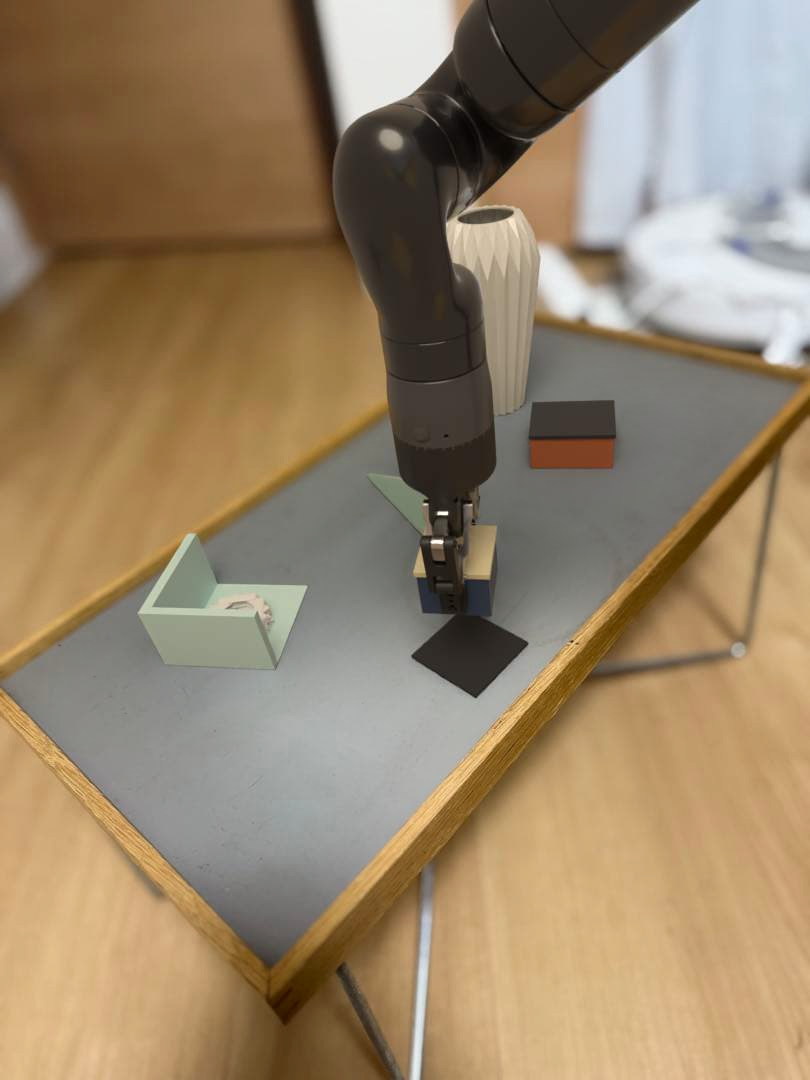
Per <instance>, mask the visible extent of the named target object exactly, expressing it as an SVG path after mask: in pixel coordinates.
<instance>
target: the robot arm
mask: <svg viewBox="0 0 810 1080" xmlns="http://www.w3.org/2000/svg"><path fill="white" fill-rule="evenodd" d="M700 1H701V0H472V1H471V2H470V4H469V5H468V7H467V8H466V9H465V12H464V13H463V14H462V16H461V18H460V19H459V22H458V23H457V26H456V28H455V32H454V36H453V42H452V43H453V44H452V50H451V51H450V52H449V54H448V55H447V56H446V57H445V58H444V60H443V61H442V62H441V64H440V65H439V66H438V67H437V68H436V69H435V70H434V72H433V73H432V74H430V76H429V77H428V78H427V79H426V80H424V82H423V83H422V84H420V85H419V87H418V88H416V89H415V90H414V91H412V93H411V94H409V95H407V96H405V97H402V98H400V99H398V100H396V101H394V102H391V103H389V104H387V105H384V106H381V107H378V108H376V109H373V110H371V111H369V112H367V113H365V114H362V115H361V116H359V117H358V118H357V119H355V120H354V121H353V122H352V123H351V124H350V125H349V126H348V127H347V128H346V129H345V130H344V132H343V133H342V136H341V138H340V139H339V141H338V143H337V146H336V148H335V153H334V156H333V157H334V158H333V164H332V176H331V177H332V179H331V187H332V198H333V205H334V211H335V213H336V217H337V221H338V224H339V226H340V229H341V233H342V235H343V237H344V239H345V242H346V244H347V247H348V249H349V252H350V254H351V257H352V259H353V261H354V264H355V265H356V268H357V270H358V273H359V275H360V278H361V279H362V282H363V286H364V288H365V289H366V291H367V293H368V295H369V297H370V299H371V301H372V304H373V306H374V308H375V310H376V313H377V321H378V330H379V336H380V342H381V347H382V354H383V359H384V366H385V373H386V374H385V375H386V379H385V380H386V382H385V383H386V384H385V385H386V387H385V388H386V400H387V406H388V412H389V413H388V414H389V418H390V425H391V430H392V436H393V437H392V438H393V443H394V448H395V456H396V461H397V467H398V473H399V475H400V476H399V477H401V478H402V480H403V481H404V482H405V483H406V484H407V485H408V486H409V487H410V488H412V489H414V490H416V491H418V492H420V493H421V494H423V495H424V496H426V497H427V498H424V499H423V519H424V520H425V521H426V535H422V534H421V537H420V540H419V548H420V547H421V552H422V557H423V562H424V567H425V572H426V577H427V582H428V589H429V592H430V593H435V594H439V597H440V604H441V610H442V612H443V613H445V614H444V615H450V614H459V615H464V614H466V613H467V611H468V597H467V587H466V580H467V574H466V557H467V556H468V555H469V554H470V552H471V550H472V525H476V524H477V521H478V520H479V518H478V513H480V512H479V511H480V501H481V495H480V492H479V488H480V486H481V485H484V484H485V483H486V482H487V481H488V480H489V479H490V478H491V477H492V475H493V474H494V472H495V470H496V467H497V462H498V461H497V444H496V428H495V416H494V409H493V392H492V382H491V376H490V371H489V367H488V362H487V354H486V337H485V321H484V308H483V300H482V293H481V288H480V284H479V282H478V280H477V278H476V276H475V274H474V273H473V272H472V271H471V270H470V269H468V268H466V267H465V266H463V265H460V264H457V263H453V262H452V258H451V254H450V250H449V246H448V241H447V234H446V228H447V225H448V223H449V221H451V220H452V219H454V218H455V217H457V216H458V215H459V214H461V213H462V212H465V210H466V209H470V207H472V205H474V204H475V203H476V202H477V201H478V200H479V199H481V198H482V197H483V196H484V195H485V194H486V193H487V192H488V191H489V190H490V189H491V188H493V186H494V185H496V183H498V181H500V180H501V179H502V178H503V177H504V176H505V175H506V174H507V173H508V171H510V169H512V167H514V165H515V164H517V162H518V161H519V160H520V159H521V158H522V157H523V156H524V155H525V154H526V153H527V152H528V150H530V148H531V147H533V145H534V144H535V143H536V141H537V140H538V139H539V138H540V137H542V136H544V135H546V134H547V133H549V131H551V130H553V129H554V128H556V127H557V126H559V125H560V124H561V123H562V122H563V121H565V120H566V119H567V118H568V117H570V116H571V115H572V114H574V113H575V112H576V111H577V110H578V109H579V108H580V107H582V106H583V105H584V104H585V103H586V102H587V101H588V100H591V98H593V96H594V95H595V94H597V93H598V92H599V91H600V90H601V89H602V88H603V87H605V85H607V84H608V83H609V82H610V81H611V80H613V79H614V78H615V77H616V76H617V75H618V74H620V73H621V72H622V70H624V69H625V68H626V67H627V66H629V64H631V63H632V61H634V60H635V59H636V58H637V57H638V56H639V55H640V54H641V53H643V52H644V51H645V50H646V49H647V48H649V46H650V45H652V44H653V43H654V42H655V41H656V40H657V39H658V38H659V37H661V36H662V35H663V34H664V33H665V32H666V31H667V30H669V28H671V27H672V26H673V25H674V24H675V23H677V21H679V20H680V19H681V18H683V16H684V15H685V14H686V13H688V12H689V11H690V10H691V9H693V7H695V6H696V5H697V4H699V2H700ZM460 537H463V544H458V543H457V541H456V538H460Z"/></svg>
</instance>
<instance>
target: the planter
mask: <svg viewBox="0 0 810 1080" xmlns="http://www.w3.org/2000/svg"><path fill="white" fill-rule="evenodd" d="M366 477H367V478H368V479H369V481H370V482H372V484H373V485H374V486H375V487H376V488H377V489H378V490H379V491H380V492H381V494H383V496H385V497H386V499H387V500H388V501H389V502H390V503H391V504H392V505H393V506H394V507H395V509H396V510H398V512H399V513H400V514H401V515H402V516H403V517H404V518H405V519H406V520H407V521H408V522H409V523H410V524H411V525H412V526H413V527H414V528H415V530H416V531H418V533H419V534H420V535H421V536H422V535H423V534H424V530H425V527H426V521H425V520H424V519H423V499H424V498H427V497H426V496H424V495H423V494H421V493H420V492H418V491H416V490H414V489H412V488H410V487H409V486H408V485H407V484H406V483H405V482H404V481H403V480H402V478H401V476H397V475H387V474H378V473H377V474H376V473H366ZM480 516H481V514H480V512H478V519H479V518H480Z"/></svg>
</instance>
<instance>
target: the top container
mask: <svg viewBox="0 0 810 1080" xmlns="http://www.w3.org/2000/svg"><path fill="white" fill-rule="evenodd" d="M423 535H426V527H425V530H424V534H423ZM497 536H498V525H483V524H482V525H476V524H475V525H472V550H471V552H470V554H469V555H468V556H467V557H466V574H467V580H466V587H467V597H468V611H467V613H466V614H464V615H471V616H481V617H492V615H493V608H494V601H495V592H496V586H497V580H498V579H497V578H498V571H499V566H498V564H499V563H498V550H497ZM456 541H457V543H458V544H463V537H460V538H456ZM412 573H413V574H412V575H413V578H416V582H417V583H416V584H417V588H418V589H417V590H418V595H419V602H420V607H421V613H422V614H427V615H428V614H430V615H431V614H432V615H446V614H445V613H443V612H442V610H441V604H440V597H439V594H435V593H430V592H429V589H428V582H427V577H426V572H425V567H424V562H423V557H422V552H421V547H420V546H419V549H418V552H417V555H416V560H415V564H414V568H413V571H412ZM450 615H453V616H455V615H459V614H449V616H450Z"/></svg>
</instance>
